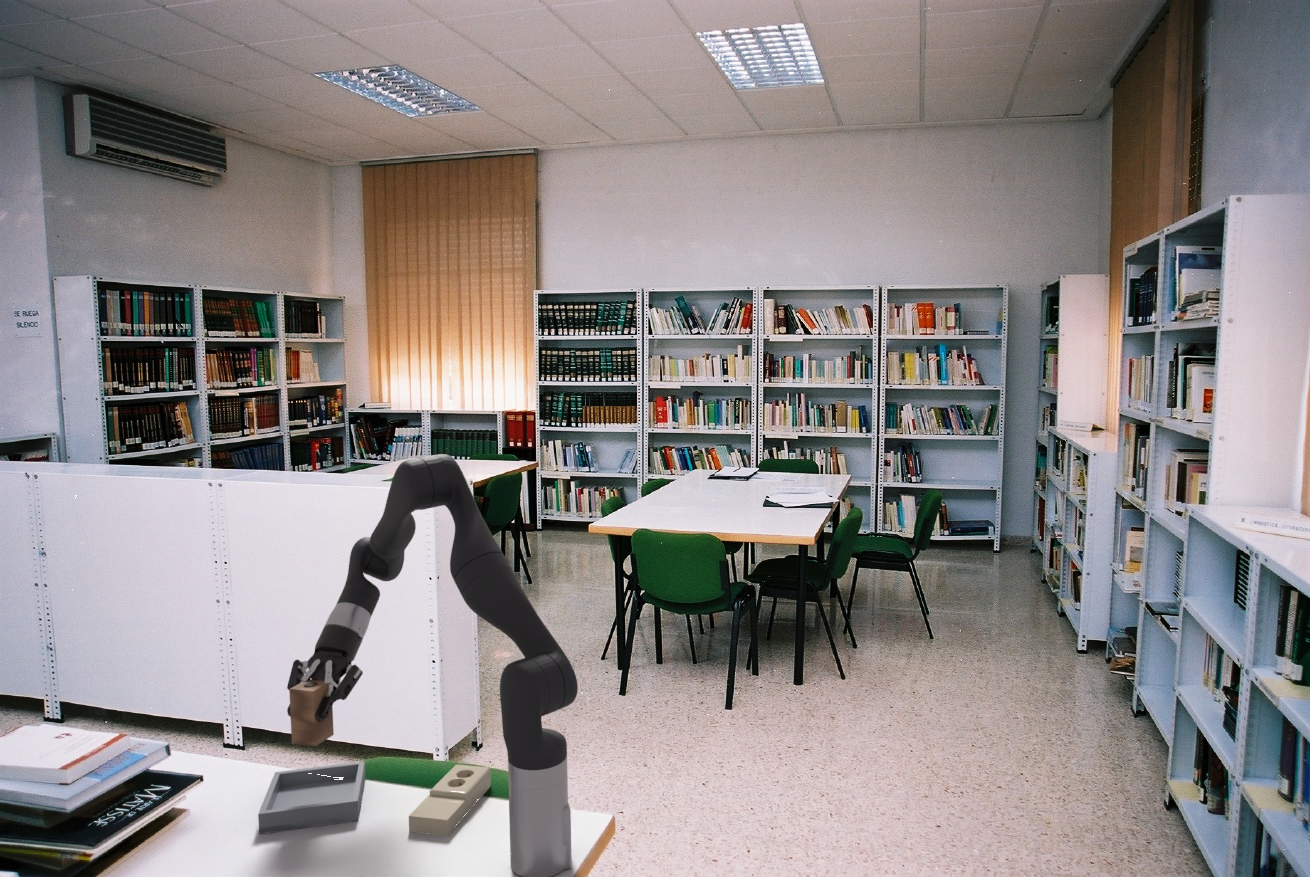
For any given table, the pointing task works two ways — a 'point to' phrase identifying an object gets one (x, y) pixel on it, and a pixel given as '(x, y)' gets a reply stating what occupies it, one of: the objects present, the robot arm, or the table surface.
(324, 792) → the tray
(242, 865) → the table surface
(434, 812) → the electrical outlet
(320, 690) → the block
